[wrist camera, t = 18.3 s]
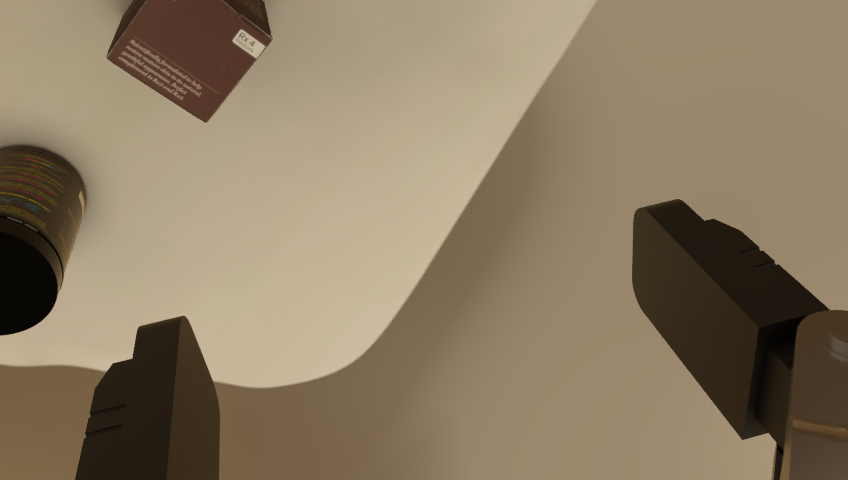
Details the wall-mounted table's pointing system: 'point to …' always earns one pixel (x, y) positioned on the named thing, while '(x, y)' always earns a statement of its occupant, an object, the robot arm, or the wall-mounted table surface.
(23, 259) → the supplement container
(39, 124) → the wall-mounted table surface
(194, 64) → the box
